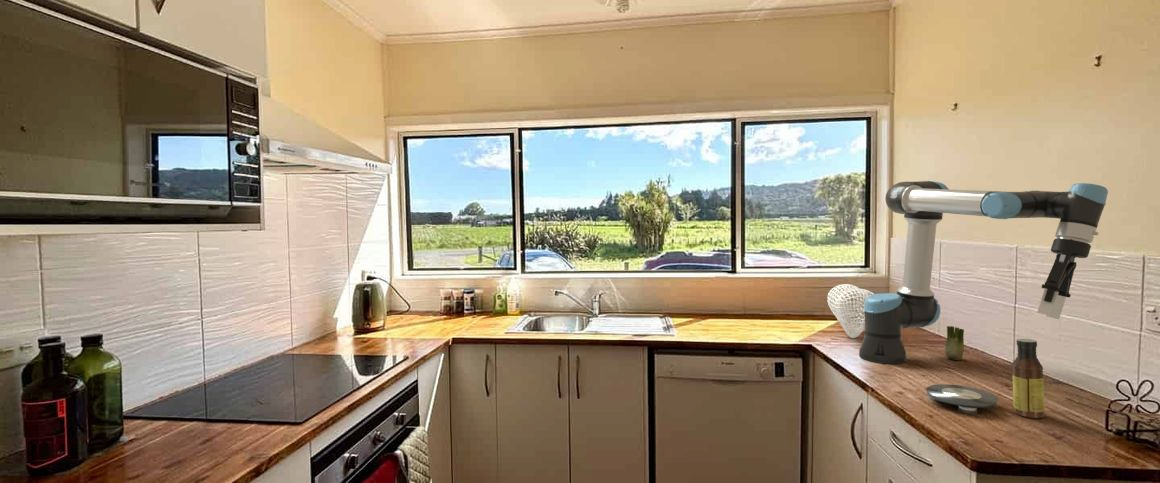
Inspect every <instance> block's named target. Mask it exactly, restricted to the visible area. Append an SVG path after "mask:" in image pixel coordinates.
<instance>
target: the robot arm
mask: <svg viewBox="0 0 1160 483" xmlns="http://www.w3.org/2000/svg"><path fill="white" fill-rule="evenodd" d="M1108 194H1109V191H1108V188H1106V187H1105V186H1103V185H1099V184H1094V183H1087V182H1085V183H1084V182H1080V183H1079V182H1078V183H1073V184H1072V185H1071V186H1070V188H1069V189H1068V191H1046V190H1025V191H1001V190H1000V191H999V190H998V191H997V190H996V191H995V190H993V191H992V190H973V189H972V190H969V189H950V188H948V187H947V185H946V184H945V183H942V182H940V181H930V180H921V181H900V182H897V183H895V184H893V185H892V186H890V187H889V189H888V190H887V191H886V193H885V204H886V206H887V207H888V209H889V210H891V212H894V213H896V214H899V215H900V214H901V215H904V216H903V218H904V220H906V222H907V224H908V225H907V234H906V244H905V256H904V265H903V266H904V267H903V276H902V277H903V278H902V285H901V286H900V287H898V288H897V290H896V293H891V292H889V293H888V292H886V293H874V295H872V294H871V295H869V296H868V297H867V298H866V299H864V301H865V305H864V307H863V308H864V313H865V315H864V316H865V324H864V325H865V329H864V336H863V338H862V339H863V340H862V342H861V345H860V348H859V351H858V356H859V358H861V359H863V360H865V361H869V362H873V363H879V364H903V363H906V362H907V360H908V358H907V357H908V355H907V352H906V349H905V346H904V343H903V340H902V330H903V329H912V328H919V329H920V328H925V327H928V326H932V325H933V324H935V323H936V322H937V321H938V320H939V318H940V316H941V305H940V304H939V302H938V299H936V298H935V292H933V290H931V283H932V282H931V281H932V271H933V262H934V253H935V252H934V251H935V244H936V243H935V242H936V232H937V224H938V223H940V222H941V221H943V215H944V214H951V215H952V214H954V215H965V216H974V217H975V216H976V217H988V218H991V219H995V220H996V219H997V220H1008V219H1034V218H1035V219H1036V218H1043V219H1045V218H1046V219H1060V220H1059V222H1058V225H1057V228H1056V231H1055V234H1054V237H1056V238H1055V239H1053V241H1052V245H1051V247H1050V252H1051V253H1053V254H1056V255H1055V260H1054V263H1053V265H1052V267H1051V270H1050V271H1049V273H1048V276H1047V278H1046V281H1045V282H1044V284H1042V285H1041V289H1044V290H1043V294H1042V297H1041V299H1040V303H1039V306H1038V309H1037V311H1036V313H1037V314H1040V315H1041V314H1042V315H1044V316H1046V317H1048V318H1053V319H1055V320H1056V319H1057V320H1060V317H1061V315H1062V312H1063V309H1064V306H1065V303H1066V299H1067V298H1071V294H1070V290H1071V285H1072V280H1073V277H1074V273H1075V269H1076V267H1077V261H1075V259H1076V258H1079V259H1086V258H1088V257H1089V254H1090V251H1091V248H1092V245H1091V244H1090V243H1093V241H1094V238H1095V237H1094V236H1099V232H1098V231H1097V229H1098V226H1099V222H1100V219H1101V216H1102V213H1103V211H1104V208H1105V206H1106V205H1107V198H1108ZM864 313H863V314H864Z"/></svg>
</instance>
